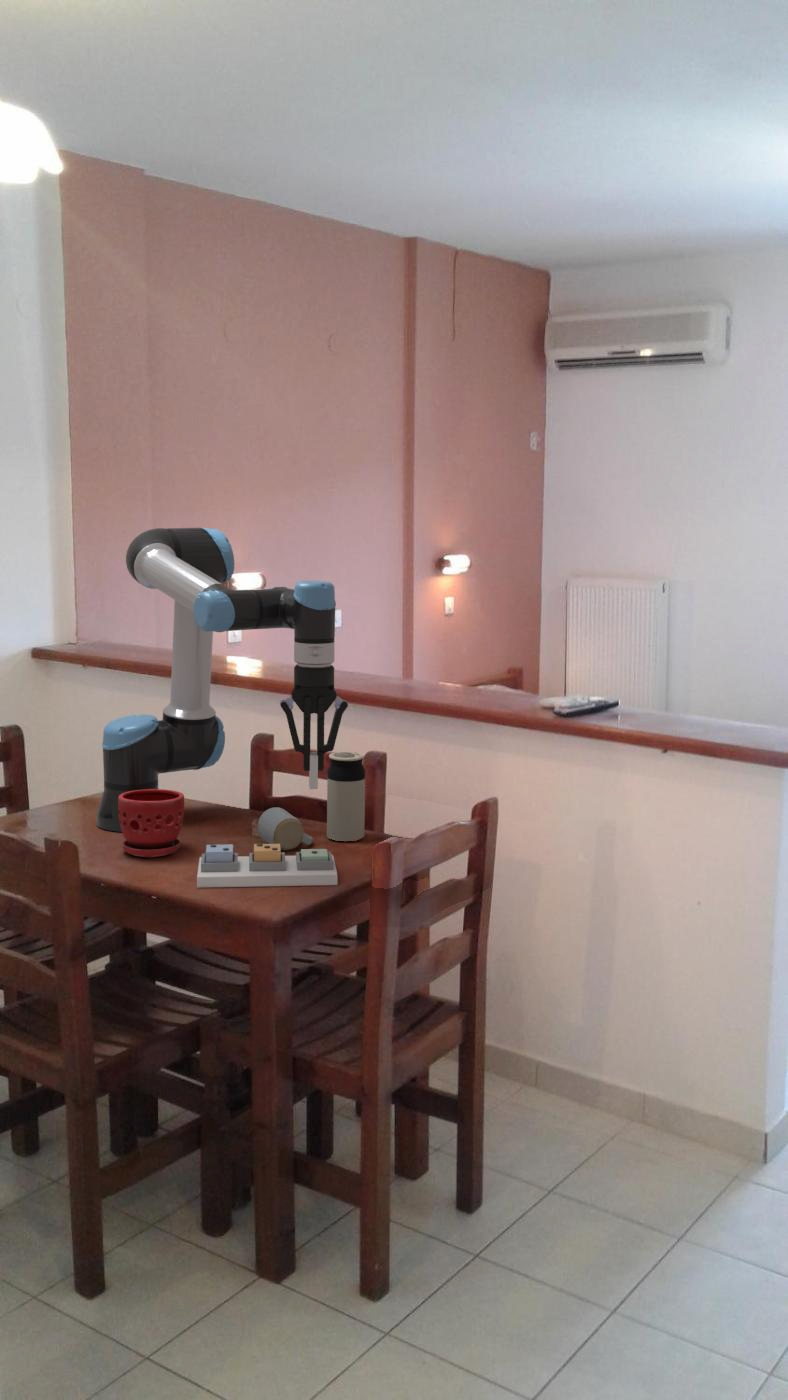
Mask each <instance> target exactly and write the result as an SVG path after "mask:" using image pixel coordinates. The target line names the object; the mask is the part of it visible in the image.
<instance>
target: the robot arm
mask: <svg viewBox="0 0 788 1400" xmlns="http://www.w3.org/2000/svg"><path fill="white" fill-rule="evenodd" d="M125 555H126V556H125V564H126V565H125V566H126V568H127V571H128V573H129V574H130V575H131V577H132V579H133V580H135V581H136V582H137V583H138V584H140V585H142V586H143V587H145V588H147V589H153V590H154V589H155V590H156V589H157V590H158V591H160V592H162V593H163V594H165V596H168V597H169V598H171V599H173V600H174V606H173V607H174V608H173V633H172V654H171V656H172V657H171V677H170V678H171V679H170V701H169V703H168V704H167V705H166V706H164V708H163V709H162V719H161V720H158V718H157V717H156V716H154V715H152V714H138V715H137V714H134V715H126V716H123V717H122V716H121V717H118V718H116V719H113V720H111V721H110V722H108V723H107V724H106V725H105V727H104V728H103V731H102V732H103V733H102V735H103V736H102V745H101V746H102V755H103V756H102V760H103V761H102V762H103V792H102V795H101V798H100V802H99V805H98V808H97V812H96V816H95V817H96V826H97V827H98V828H100V829H103V830H106V831H110V832H111V831H112V832H121V833H122V830H121V827H120V822H119V812H118V798H119V795H120V794H122V793H125V792H129V791H135V790H145V789H159V775H160V774H168V773H174V772H183V771H191V770H192V771H195V770H196V771H198V770H200V769H204V768H210V767H212V766H214V765H215V764H216V763H217V762H219V760H220V759H221V757H222V755H223V753H224V749H225V744H226V733H225V730H224V728H225V727H224V724H223V722H222V720H221V718H220V717H218V716H217V715H216V713H217V712H216V710H215V709H214V708H213V707H212V706H211V704H210V698H211V679H212V660H213V658H212V657H213V637H214V632H216V633H224V632H232V631H233V632H234V631H236V632H237V631H245V630H246V631H248V630H250V631H251V630H264V629H265V630H266V629H267V630H268V629H289V630H290V629H291V630H293V631H294V632H293V634H294V638H293V639H294V645H293V648H294V651H293V661H294V663H296V665H294V667H293V689H292V691H291V695H290V696H289V697H287V698H286V699H281V700H280V702H279V704H280V708H281V709H282V711H283V712H284V714H285V717H286V720H287V724H288V730H289V732H290V735H291V741H292V744H293V749H294V751H295V752H299V753H301V754H303V758H302V759H303V760H302V761H303V762H302V763H303V764H302V768H303V770H304V771H305V772H308V773H309V774H308V787H309V790H318V786H319V785H318V784H319V781H318V780H319V779H318V778H319V775H318V773H319V772H323V771H324V769H325V768H324V766H325V765H324V764H325V763H324V762H325V754H326V753H329V752H332V751H334V749H335V744H336V740H337V737H338V733H339V728H340V724H341V721H342V717H343V715H344V712H345V711H346V710H347V708H348V706H349V704H348V701H347V700H346V699H342V698H341V697H339V696H338V695H337V691H336V689H335V666H334V665H333V664H334V663H335V635H336V634H335V632H336V605H337V604H336V596H335V586H334V584H333V582H330V581H326V580H325V581H324V580H323V581H321V580H299V581H297V582H296V583H295V585H294V588H293V589H292V588H288V587H286V586H274V587H268V588H262V589H259V588H258V589H232V588H230V587H228V586H226V585H225V584H224V583H226V582H228V581H231V579H232V577H233V575H234V571H235V556H234V555H235V554H234V551H233V547H232V545H231V543H230V541H229V539H228V537H227V536H226V534H225V533H224V532H222V531H221V530H220V529H216V528H207V527H177V528H176V527H175V528H169V527H168V528H161V527H160V528H159V527H158V528H152V529H148V530H145V531H143V532H142V533H140V534H138V535H137V536H136V537H135V538H134V539H133V540H132V541H131V542H130V544H129V545H128V548H127V550H126V554H125ZM294 703H295V704H296V706H297V707H298V709H299V710H300V711H301V712H302V713H303V726H302V727H303V733H302V736H303V737H302V739H303V742H302V743H303V744H300V743H301V742H300V738H299V735H298V730H297V726H296V722H295V718H294V713H293V711H292V710H293V709H294V705H293V704H294ZM333 703H334V708H335V711H334V714H333V718H332V723H331V727H330V730H329V733H328V734H329V735H328V738H327V741H326V744H325V713H326V712H328V710H330V707H331V706H332V705H333ZM311 714H315V715H316V751H315V752H311V727H312V726H311V722H312V721H311V719H312V715H311ZM157 815H159V814H157ZM140 817H141V818H142V815H141V814H140ZM166 819H168V816H167V817H166Z"/></svg>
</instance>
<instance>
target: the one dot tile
mask: <svg viewBox="0 0 788 1400" xmlns="http://www.w3.org/2000/svg"><path fill="white" fill-rule="evenodd" d="M300 852H301V861H328V853H327V852H328V849H327V848H307V849H306V848H305V849H303V848H302V849H300Z"/></svg>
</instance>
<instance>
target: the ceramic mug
mask: <svg viewBox="0 0 788 1400" xmlns="http://www.w3.org/2000/svg"><path fill="white" fill-rule="evenodd" d="M304 831H305V830H304V827H303V824H302V822H301V821H300V820H299V819H298V818H296V817H295V816H293V815H292V814H291V813H289V812H288V811H287V810H285V809H284V808H282V807H279V806H278V807H274V806H273V807H270V808H268V809H266V810H265V811H263V813H261V816H260V817H259V819H258V821H257V832H258V835H259V836H260V839H262V840H263V841H264V842H265V843H266V844H280V849H281V851H283V852H285V851H291V850H294V849H296V848H297V847H299V846H300V844H304V845H307V846H311V845H312V842H313V840H314V837H312V836H310V835H309V834H307V833H305V832H304Z"/></svg>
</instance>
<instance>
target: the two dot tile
mask: <svg viewBox="0 0 788 1400" xmlns="http://www.w3.org/2000/svg"><path fill="white" fill-rule="evenodd" d="M233 853H234V844H231V843H230V844H229V843H228V844H206V848H205V854H206V862H233Z"/></svg>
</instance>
